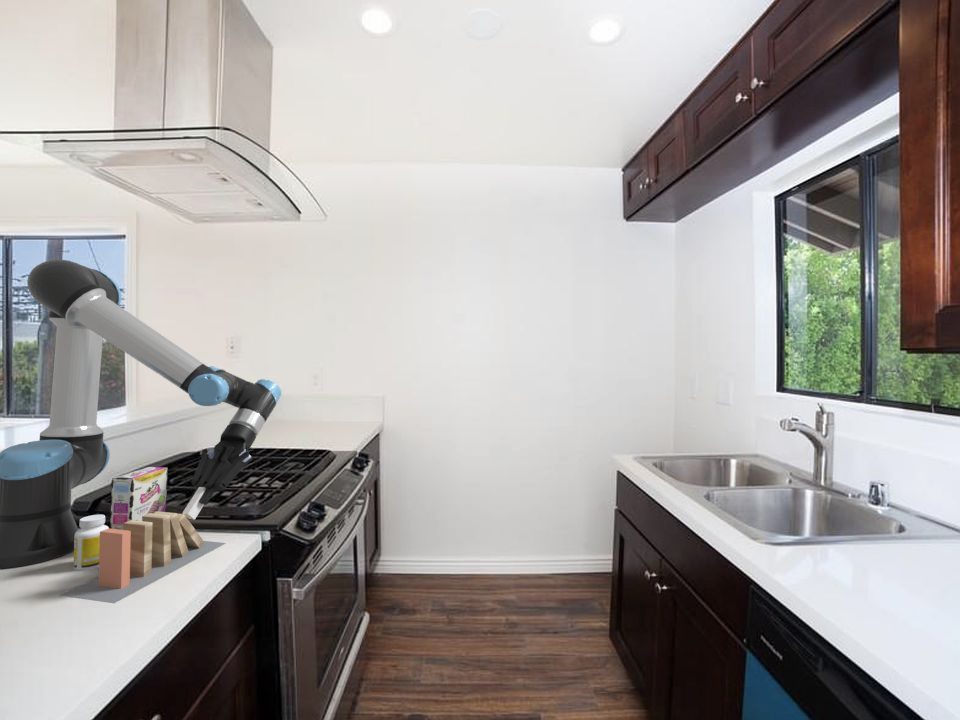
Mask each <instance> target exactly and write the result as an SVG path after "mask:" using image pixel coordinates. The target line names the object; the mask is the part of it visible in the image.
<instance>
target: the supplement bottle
mask: <svg viewBox="0 0 960 720" xmlns="http://www.w3.org/2000/svg"><path fill="white" fill-rule="evenodd" d="M105 523H106V516H105V514H92V515H88V516H87V515H86V516H84V517H82V518H80V519H79V526H78V527H79V528H80V529H79V528H78V531H77V532H76V533H75V536H74V550H73V569H74V570H76V571H88V570H92V569H96V568H99V547H100V531H103V530H106V529H110V527H109V526H108V525H106V524H105Z"/></svg>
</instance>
